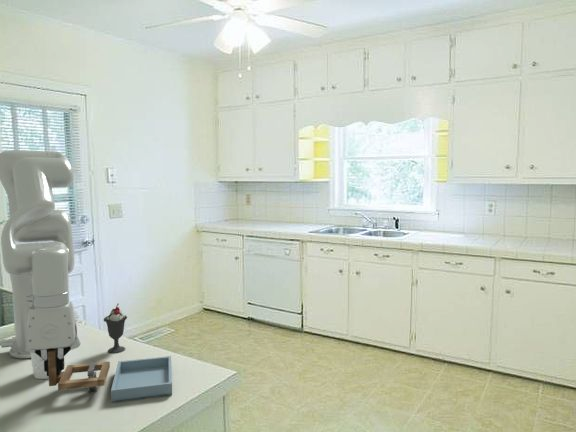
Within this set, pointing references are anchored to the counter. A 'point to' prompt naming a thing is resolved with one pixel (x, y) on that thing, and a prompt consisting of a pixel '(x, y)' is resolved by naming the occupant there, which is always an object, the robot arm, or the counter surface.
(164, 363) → the tray
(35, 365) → the white cup
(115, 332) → the sundae
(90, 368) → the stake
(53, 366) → the ring
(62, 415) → the counter surface
